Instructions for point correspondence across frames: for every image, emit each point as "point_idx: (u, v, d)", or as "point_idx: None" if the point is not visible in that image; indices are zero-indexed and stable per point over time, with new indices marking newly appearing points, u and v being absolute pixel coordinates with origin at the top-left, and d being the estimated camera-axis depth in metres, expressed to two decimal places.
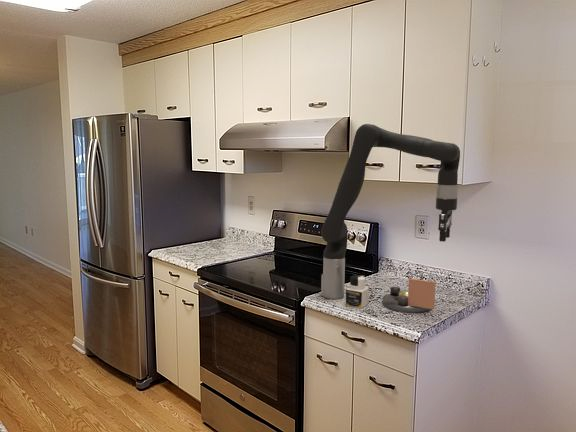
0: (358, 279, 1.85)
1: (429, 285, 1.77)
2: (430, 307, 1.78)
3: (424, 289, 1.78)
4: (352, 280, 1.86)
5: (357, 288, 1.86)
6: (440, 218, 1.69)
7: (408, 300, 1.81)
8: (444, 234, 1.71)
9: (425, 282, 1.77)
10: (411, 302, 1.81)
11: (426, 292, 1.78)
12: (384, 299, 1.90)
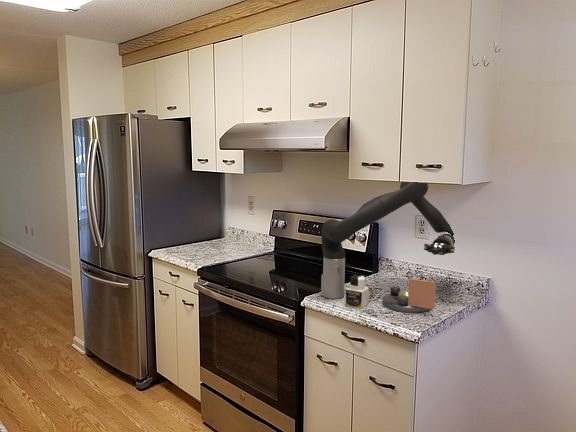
0: (358, 279, 1.85)
1: (429, 285, 1.77)
2: (430, 307, 1.78)
3: (424, 289, 1.78)
4: (352, 280, 1.86)
5: (357, 288, 1.86)
6: (452, 248, 1.91)
7: (408, 300, 1.81)
8: (438, 252, 1.89)
9: (425, 282, 1.77)
10: (411, 302, 1.81)
11: (426, 292, 1.78)
12: (384, 299, 1.90)
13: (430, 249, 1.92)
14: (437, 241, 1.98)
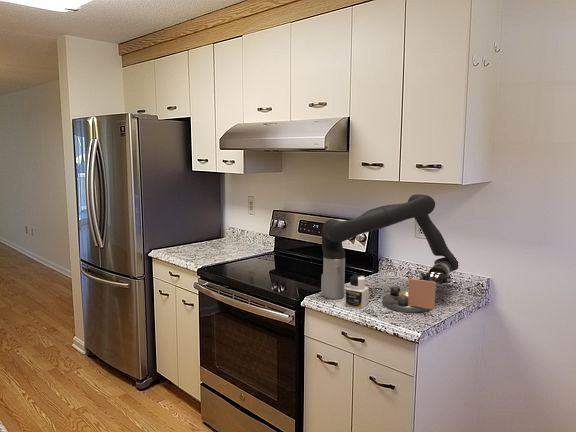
0: (358, 279, 1.85)
1: (429, 285, 1.77)
2: (430, 307, 1.78)
3: (424, 289, 1.78)
4: (352, 280, 1.86)
5: (357, 288, 1.86)
6: (448, 278, 1.88)
7: (408, 300, 1.81)
8: None
9: (425, 282, 1.77)
10: (411, 302, 1.81)
11: (426, 292, 1.78)
12: (384, 299, 1.90)
13: (426, 279, 1.89)
14: (433, 270, 1.95)
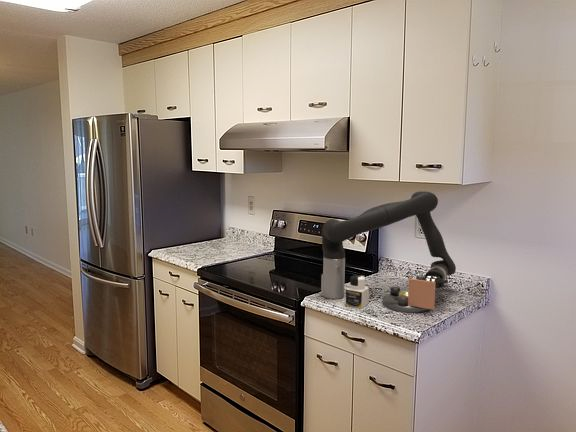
0: (358, 279, 1.85)
1: (429, 285, 1.77)
2: (430, 307, 1.77)
3: (424, 289, 1.78)
4: (352, 280, 1.86)
5: (357, 288, 1.86)
6: (445, 282, 1.82)
7: (408, 300, 1.81)
8: None
9: (425, 282, 1.77)
10: (411, 302, 1.81)
11: (426, 292, 1.77)
12: (384, 299, 1.90)
13: None
14: (430, 273, 1.89)
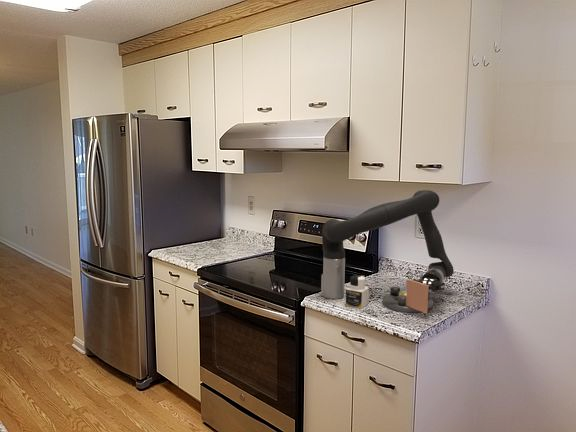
0: (358, 279, 1.85)
1: (422, 288, 1.73)
2: (422, 310, 1.74)
3: (418, 291, 1.75)
4: (352, 280, 1.86)
5: (357, 288, 1.86)
6: (442, 285, 1.79)
7: (406, 301, 1.81)
8: (428, 290, 1.77)
9: (419, 284, 1.74)
10: (408, 303, 1.80)
11: (419, 295, 1.74)
12: (384, 299, 1.90)
13: None
14: (427, 276, 1.86)
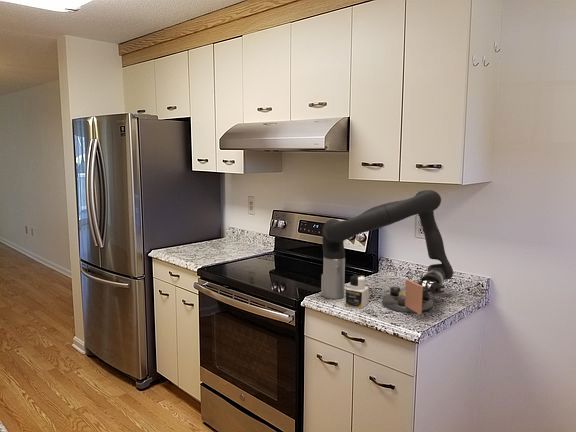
0: (358, 279, 1.85)
1: (417, 288, 1.72)
2: (417, 311, 1.73)
3: (414, 292, 1.74)
4: (352, 280, 1.86)
5: (357, 288, 1.86)
6: (441, 287, 1.75)
7: (405, 301, 1.81)
8: None
9: (414, 285, 1.74)
10: (406, 303, 1.80)
11: (415, 295, 1.74)
12: (384, 299, 1.90)
13: None
14: (426, 278, 1.83)
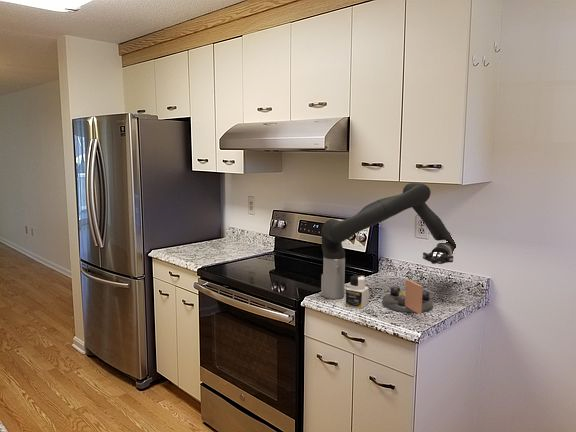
0: (358, 279, 1.85)
1: (417, 288, 1.72)
2: (417, 311, 1.73)
3: (414, 292, 1.74)
4: (352, 280, 1.86)
5: (357, 288, 1.86)
6: (450, 257, 1.90)
7: (405, 301, 1.81)
8: (437, 262, 1.88)
9: (414, 285, 1.74)
10: (406, 303, 1.80)
11: (415, 295, 1.74)
12: (384, 299, 1.90)
13: (429, 258, 1.91)
14: (436, 250, 1.97)
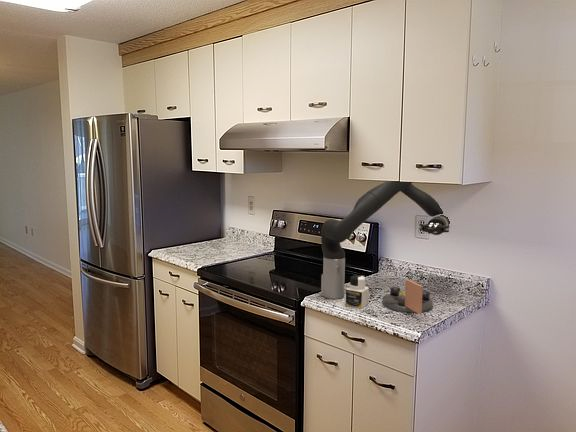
0: (358, 279, 1.85)
1: (417, 288, 1.72)
2: (417, 311, 1.73)
3: (414, 292, 1.74)
4: (352, 280, 1.86)
5: (357, 288, 1.86)
6: (446, 227, 1.94)
7: (405, 301, 1.81)
8: (433, 231, 1.92)
9: (414, 285, 1.74)
10: (406, 303, 1.80)
11: (415, 295, 1.74)
12: (384, 299, 1.90)
13: (425, 228, 1.95)
14: (432, 221, 2.01)
